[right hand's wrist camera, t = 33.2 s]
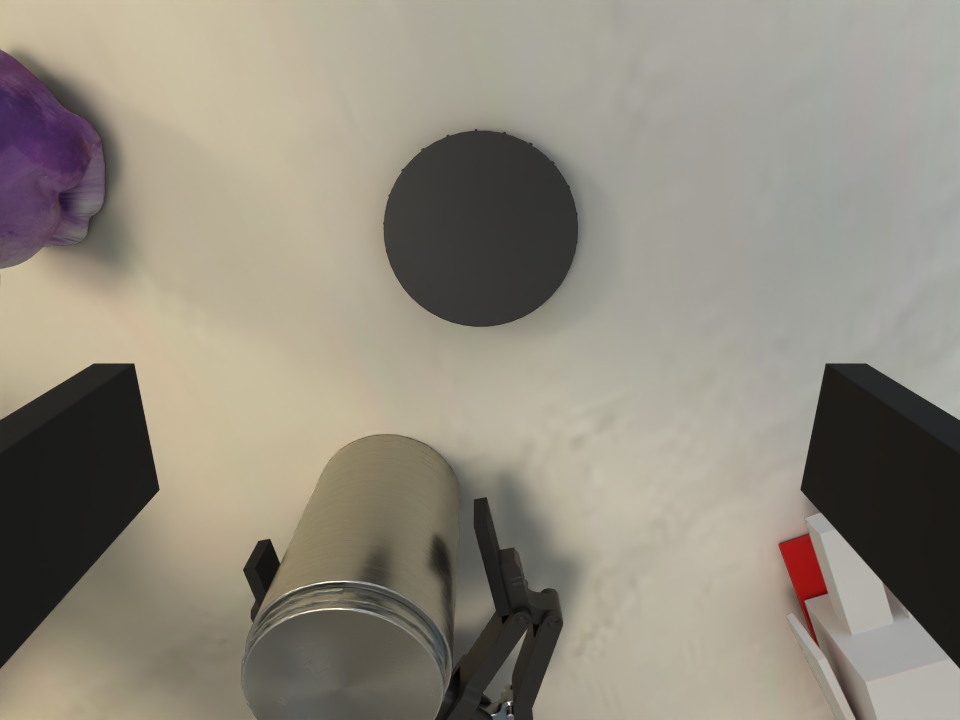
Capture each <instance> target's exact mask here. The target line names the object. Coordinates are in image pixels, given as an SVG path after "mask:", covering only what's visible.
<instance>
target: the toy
mask: <svg viewBox="0 0 960 720" xmlns="http://www.w3.org/2000/svg"><path fill="white" fill-rule="evenodd" d="M804 519H805V522H806V525H807V528H808V531H809V534H808V535H805V536H802V537H799V538H796V539H794V540H791V541H788V542H785V543H782V544H779V548H780V551H781V553H782V556H783V559H784V561H785V564H786V567H787V570H788V572H789V575H790V578H791V580H792V583H793V586H794V589H795V591H796V594H797V597H798V600H799V602H800V605H801V608H802V610H803V613H804V616H805V619H806V621H807V624H808V627H809V630H810V632H811V635H812V638H813V639H812V638H811V636H810V635H809V634H808V632H807V631H806V630H805V628H804V627H803V625H802V624H801V623H800V621H799V620H798V619H797V617H796V616H795V615H794V613H793V612H792V613H790V614H788V615H785V616H786V618H787V620H788V622H789V624H790V626H791V628H792V630H793V632H794V634H795V636H796V639H797V641H798V643H799V645H800V647H801V649H802V651H803V653H804V655H805V657H806V659H807V661H808V663H809V665H810V667H811V669H812V671H813V673H814V675H815V678H816V680H817V682H818V684H819V686H820V688H821V690H822V692H823V694H824V696H825V698H826V700H827V702H828V704H829V706H830V708H831V710H832V712H833V714H834V717H835V719H836V720H960V669H959V668H958V666H957V665H956V664H955V663H954V662H953V661H952V660H951V659H950V657H949V656H948V655H947V654H946V653H945V652H944V651H943V650H942V648H941V647H940V646H939V645H938V644H937V643H936V642H935V641H934V639H933V638H932V637H931V636H930V635H929V634H928V633H927V632H926V630H925V629H924V628H923V627H922V626H921V625H920V624H919V623H918V621H917V620H916V619H915V618H914V617H913V616H912V615H911V614H910V612H909V611H908V610H907V609H906V608H905V607H904V606H903V605H902V603H901V602H900V601H899V600H898V599H897V598H896V597H895V596H894V594H893V593H892V592H891V591H890V590H889V589H888V588H887V587H886V585H885V584H884V583H883V582H882V581H881V580H880V579H879V578H878V576H877V575H876V574H875V573H874V572H873V571H872V570H871V569H870V567H869V566H868V565H867V564H866V563H865V562H864V561H863V560H862V558H861V557H860V556H859V555H858V554H857V553H856V552H855V551H854V549H853V548H852V547H851V546H850V545H849V544H848V543H847V542H846V540H845V539H844V538H843V537H842V536H841V535H840V534H839V533H838V531H837V530H836V529H835V528H834V527H833V526H832V525H831V524H830V522H829V521H828V520H827V519H826V518H825V517H824V516H823V515H822V513H818V514H815V515H812V516H809V517H806V518H804Z"/></svg>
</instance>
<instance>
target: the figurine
mask: <svg viewBox="0 0 960 720" xmlns="http://www.w3.org/2000/svg"><path fill="white" fill-rule="evenodd" d="M102 151H103V147H102V142H101V139H100V137H99V135H98V134H97V132H96V131H95V128H94V127H93V126H92V125H91V124H90V123H89V122H88V121H86V120H85V119H84V118H82V117H80V116H78V115H76V114H74V113H72V112H70V111H69V110H67V109H66V108H64V107H63V106H62V105H61V104H60V103H59V102H58V101H57V100H56V98H55V97H54V96H53V94H52V93H51V92H50V91H49V90H48V88H47V87H46V86H45V85H44V84H43V83H42V82H41V81H40V80H39V79H38V78H36V77H35V76H34V75H33V74H32V73H31V72H30V71H28V70H27V69H26V68H25V67H24V66H23V65H22V64H21V63H19V62H18V61H17V60H16V59H14V58H13V57H12V56H10V55H9V54H7V53H5V52H4V51H2V50H1V49H0V269H2V268H7V267H11V266H15V265H18V264H20V263H22V262H24V261H26V260H28V259H29V258H31V257H32V256H33V255H35V254H36V253H37V252H38V251H39V250H40V249H41V248H42V247H49V246H51V245H52V246H55V245H57V246H59V245H62V246H63V245H69V244H70V245H72V244H77V243H78V242H81V241H82V240H84V238H85V237H86V235H87V234H88V233H87V230H88V227H89V220H90V217H91V216H93V215H95V214H96V213H97V212H99V210H100V209H101V207H102V205H103V203H104V200H103V199H104V196H105V187H104V184H105V163H104V154H103V152H102Z"/></svg>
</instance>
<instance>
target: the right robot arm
mask: <svg viewBox="0 0 960 720" xmlns="http://www.w3.org/2000/svg"><path fill="white" fill-rule="evenodd" d="M158 491H159V485H158V480H157V475H156V470H155V465H154V460H153V455H152V450H151V445H150V440H149V435H148V430H147V425H146V420H145V415H144V410H143V405H142V400H141V395H140V390H139V385H138V380H137V375H136V370H135V365H134V364H92V365H91V366H89V367H87V368H86V369H84V370H82V371H81V372H79V373H77V374H76V375H74V376H73V377H71V378H69V379H68V380H66V381H64V382H63V383H61V384H59V385H58V386H56V387H54V388H53V389H51V390H49V391H48V392H46V393H45V394H43V395H41V396H40V397H38V398H36V399H35V400H33V401H31V402H30V403H28V404H26V405H25V406H23V407H21V408H20V409H18V410H16V411H15V412H13V413H12V414H10V415H8V416H7V417H5V418H3V419H2V420H0V669H1V668H2V666H3V665H4V664H5V663H6V662H7V661H8V660H9V659H10V657H11V656H12V655H13V654H14V653H15V652H16V651H17V650H18V648H19V647H20V646H21V645H22V644H23V643H24V642H25V641H26V639H27V638H28V637H29V636H30V635H31V634H32V633H33V632H34V630H35V629H36V628H37V627H38V626H39V625H40V624H41V623H42V621H43V620H44V619H45V618H46V617H47V616H48V615H49V614H50V612H51V611H52V610H53V609H54V608H55V607H56V606H57V605H58V603H59V602H60V601H61V600H62V599H63V598H64V597H65V596H66V594H67V593H68V592H69V591H70V590H71V589H72V588H73V587H74V585H75V584H76V583H77V582H78V581H79V580H80V579H81V578H82V576H83V575H84V574H85V573H86V572H87V571H88V570H89V569H90V567H91V566H92V565H93V564H94V563H95V562H96V561H97V560H98V558H99V557H100V556H101V555H102V554H103V553H104V552H105V551H106V549H107V548H108V547H109V546H110V545H111V544H112V543H113V542H114V540H115V539H116V538H117V537H118V536H119V535H120V534H121V533H122V531H123V530H124V529H125V528H126V527H127V526H128V525H129V524H130V522H131V521H132V520H133V519H134V518H135V517H136V516H137V515H138V513H139V512H140V511H141V510H142V509H143V508H144V507H145V506H146V504H147V503H148V502H149V501H150V500H151V499H152V498H153V497H154V495H155V494H156V493H157V492H158ZM801 491H802V492H803V493H804V494H805V495H806V497H807V498H808V499H809V500H810V501H811V502H812V503H813V504H814V506H815V507H816V508H817V509H818V510H819V511H820V512H821V513H822V515H823V516H824V517H825V518H826V519H827V520H828V521H829V522H830V524H831V525H832V526H833V527H834V528H835V529H836V530H837V531H838V533H839V534H840V535H841V536H842V537H843V538H844V539H845V540H846V542H847V543H848V544H849V545H850V546H851V547H852V548H853V549H854V551H855V552H856V553H857V554H858V555H859V556H860V557H861V558H862V560H863V561H864V562H865V563H866V564H867V565H868V566H869V567H870V569H871V570H872V571H873V572H874V573H875V574H876V575H877V576H878V578H879V579H880V580H881V581H882V582H883V583H884V584H885V585H886V587H887V588H888V589H889V590H890V591H891V592H892V593H893V594H894V596H895V597H896V598H897V599H898V600H899V601H900V602H901V603H902V605H903V606H904V607H905V608H906V609H907V610H908V611H909V612H910V614H911V615H912V616H913V617H914V618H915V619H916V620H917V621H918V623H919V624H920V625H921V626H922V627H923V628H924V629H925V630H926V632H927V633H928V634H929V635H930V636H931V637H932V638H933V639H934V641H935V642H936V643H937V644H938V645H939V646H940V647H941V648H942V650H943V651H944V652H945V653H946V654H947V655H948V656H949V657H950V659H951V660H952V661H953V662H954V663H955V664H956V665H957V666H958V668H959V669H960V420H958V419H957V418H955V417H953V416H952V415H950V414H948V413H947V412H945V411H943V410H942V409H940V408H939V407H937V406H935V405H934V404H932V403H930V402H929V401H927V400H925V399H924V398H922V397H920V396H919V395H917V394H915V393H914V392H912V391H911V390H909V389H907V388H906V387H904V386H902V385H901V384H899V383H897V382H896V381H894V380H892V379H891V378H889V377H887V376H886V375H884V374H883V373H881V372H879V371H878V370H876V369H874V368H873V367H871V366H869V365H868V364H826V365H825V370H824V375H823V380H822V385H821V390H820V395H819V400H818V405H817V410H816V415H815V420H814V425H813V430H812V435H811V440H810V445H809V450H808V455H807V460H806V465H805V470H804V475H803V480H802V485H801Z"/></svg>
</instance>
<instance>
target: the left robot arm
mask: <svg viewBox="0 0 960 720" xmlns="http://www.w3.org/2000/svg"><path fill="white" fill-rule="evenodd" d="M474 529H475V533H476V536H477V540H478V544H479V548H480V551H481V555H482V559H483V563H484V566H485V570H486V574H487V578H488V582H489V585H490V589H491V593H492V597H493V600H494V604H495V608H496V612H495V614H494V615H493V617H492V618H491V620H490V621H489V623H488V624H487V626H486V627H485V629H484V630H483V632H482V633H481V635H480V636H479V638H478V639H477V641H476V642H475V644H474V645H473V647H472V648H471V650H470V651H469V653H468V654H467V655H465V654H464V655H463V656H462V658H461V659H460V661H459V662H458V664H457V665H456V667H455V668H454V670H453V671H452V673H451V678H450V682H449V686H448V688H447V690H446V692H445V695H444V701H442V703H441V707H440V709H439V712H438V714H437V716H436V718H435V719H434V720H533V712H532V707H533V705H534V702H535V699H536V697H537V694H538V691H539V689H540V686H541V683H542V680H543V678H544V675H545V672H546V670H547V667H548V664H549V661H550V659H551V656H552V653H553V651H554V648H555V645H556V643H557V640H558V637H559V634H560V632H561V629H562V626H563V619H562V613H561V607H560V601H559V595H558V592H557V591H556V590H554V589H552V588H547V589H544V590H543V591H541V593H540V592H534V591H531V590H530V589H529V588H528V582H527V581H526V579H525V577H524V573H523V569H522V565H521V561H520V557H519V553H518V552H517V551H516V549H515V548H508V549H503V550H500V549H499V545H498V541H497V537H496V533H495V529H494V525H493V521H492V517H491V513H490V509H489V505H488V501H487V498H486V497H485V498H480V499H475V500H474ZM279 566H280V562H279V560H278V557H277V555H276V552H275V550H274V547H273V545H272V542H271V540H270V539H267V540H262V541H258V543H257V545H256V547H255V549H254V550H253V552H252V554H251V556H250V558H249V560H248V562H247V563H246V565H245V567H244V569H243V571H244V573H245V576H246V578H247V580H248V583H249V585H250V587H251V590H252V592H253V595H254V597H255V599H256V601H255V603H254V605H253V607H252V610H251V619H252V622H254V620H255V618H256V616H257V614H258V612H259V609H260V607H261V605H262V603H263V601H264V599H265V596H266V594H267V592H268V590H269V588H270V585H271V583H272V581H273V579H274V577H275V575H276V572H277V570H278V568H279ZM527 628H528V630H527ZM526 630H527V633H526V636H525V638H524V641H523V644H522V647H521V650H520V653H519V656H518V659H517V662H516V664H515V667H514V671H513V674H512V685H510V684H509V685H506V686H505V691H504V692H503V693H502V694H501V698H500V700H499V701H498V702H496V703H492V702H491V701H490V699H489V698H488V697H487V696H485V695H484V694H483V692H484V690H485V689H486V687H487V686H488V684H489V683H490V681H491V680H492V679H493V677H494V676H495V674H496V673H497V671H498V670H499V668H500V667H501V666H502V664H503V663H504V661H505V660H506V658H507V657H508V656H509V654H510V653H511V651H512V650H513V648H514V647H515V645H516V644H517V643H518V641H519V640H520V638H521V637H522V635H523V634H524V632H525V631H526Z"/></svg>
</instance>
